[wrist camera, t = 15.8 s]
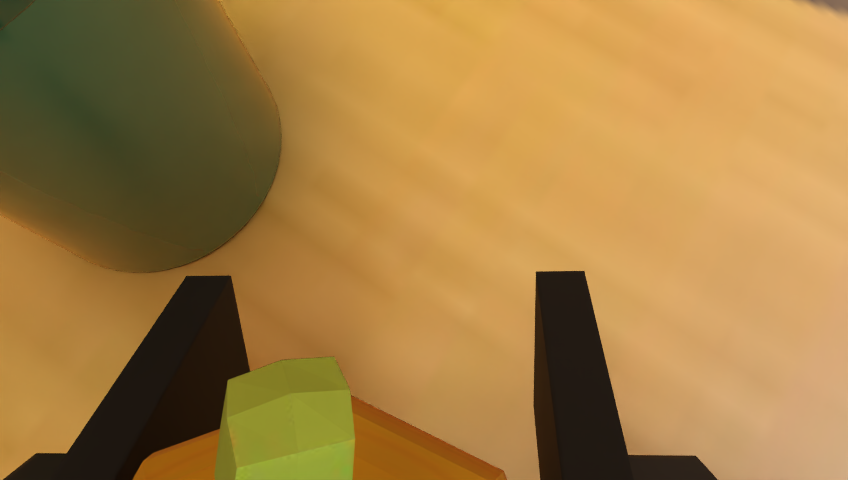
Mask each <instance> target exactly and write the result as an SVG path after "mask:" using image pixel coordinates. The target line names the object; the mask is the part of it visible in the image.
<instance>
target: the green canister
mask: <svg viewBox="0 0 848 480" xmlns="http://www.w3.org/2000/svg"><path fill="white" fill-rule="evenodd" d="M280 151H281V126H280V118H279V114H278V110H277V106H276V103H275V101H274V98H273V96H272V94H271V91H270V90H269V88H268V86H267V84H266V83H265V81H264V79H263V77H262V76H261V74H260V72H259V70H258V69H257V67H256V65H255V63H254V62H253V60H252V58H251V56H250V55H249V53H248V51H247V49H246V48H245V46H244V44H243V43H242V41H241V39H240V37H239V36H238V34H237V32H236V30H235V29H234V27H233V25H232V23H231V22H230V20H229V18H228V16H227V15H226V13H225V11H224V9H223V8H222V6H221V4H220V2H219V1H218V0H0V215H1V216H3V217H4V218H6V219H8V220H10V221H12V222H14V223H16V224H18V225H20V226H21V227H23V228H25V229H27V230H29V231H31V232H33V233H35V234H37V235H39V236H40V237H42V238H44V239H46V240H48V241H50V242H52V243H54V244H56V245H57V246H59V247H61V248H63V249H65V250H67V251H69V252H71V253H73V254H74V255H76V256H78V257H80V258H82V259H84V260H86V261H88V262H90V263H93V264H95V265H98V266H100V267H103V268H108V269H112V270H116V271H123V272H133V273H139V272H155V271H161V270H167V269H171V268H175V267H178V266H182V265H185V264H188V263H190V262H192V261H195V260H197V259H199V258H201V257H204V256H205V255H207V254H209V253H210V252H212V251H214V250H216V249H217V248H219V247H220V246H221V245H223V244H224V243H225V242H227V241H228V240H229V239H231V238H232V237H233V236H234V235H235V234H236V233H237V232H238V231H240V230H241V229H242V228H243V227H244V226H245V225H246V223H247V222H248V221H249V220H250V219H251V217H252V216H253V215H254V214H255V213H256V211H257V210H258V208H259V206H260V205H261V203H262V202H263V200H264V199H265V197H266V195H267V193H268V191H269V188H270V186H271V184H272V182H273V179H274V176H275V173H276V170H277V167H278V162H279V157H280Z"/></svg>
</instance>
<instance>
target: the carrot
mask: <svg viewBox="0 0 848 480" xmlns="http://www.w3.org/2000/svg"><path fill="white" fill-rule="evenodd" d="M133 480H507V478H506V476H505V473H504V471H503V470H501V469H499V468H497V467H494V466H492V465H490V464H488V463H486V462H484V461H482V460H480V459H478V458H476V457H474V456H472V455H470V454H468V453H466V452H464V451H462V450H460V449H458V448H456V447H454V446H452V445H450V444H448V443H446V442H444V441H442V440H440V439H438V438H436V437H434V436H432V435H430V434H428V433H426V432H424V431H422V430H420V429H418V428H416V427H414V426H412V425H410V424H408V423H406V422H404V421H402V420H400V419H398V418H396V417H394V416H392V415H390V414H388V413H386V412H383V411H381V410H379V409H377V408H375V407H373V406H371V405H369V404H367V403H365V402H363V401H361V400H359V399H357V398H355V397H353V396H351V394H350V388H349V386H348V384H347V382H346V380H345V378H344V376H343V374H342V372H341V370H340V368H339V366H338V364H337V362H336V360H335V358H334V357H320V358H305V359H289V360H280V361H278V362H275V363H272V364H270V365H267V366H264V367H262V368H259V369H256V370H253V371H251V372H248V373H245V374H243V375H240V376H237V377H235V378H232V379H229V380H228V382H227V388H226V394H225V400H224V406H223V412H222V418H221V425H220V429H218V430H215V431H212V432H210V433H207V434H204V435H201V436H198V437H196V438H193V439H190V440H187V441H185V442H182V443H179V444H176V445H174V446H171V447H168V448H165V449H163V450H160V451H157V452H154V453H153V454H151V455H150V456H149V457H147V458H146V459H145V460H144V461H143V462H142V464H141V465H140V467H139V469H138V471H137V473H136V474H135V476H134V478H133Z"/></svg>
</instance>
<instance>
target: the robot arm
mask: <svg viewBox="0 0 848 480" xmlns="http://www.w3.org/2000/svg"><path fill="white" fill-rule="evenodd" d="M248 372H250V369H249V364H248V359H247V354H246V349H245V344H244V339H243V334H242V329H241V324H240V319H239V314H238V309H237V304H236V299H235V294H234V288H233V283H232V278H231V276H186V277H185V279H184V280H183V282H182V283H181V285H180V286H179V288H178V289H177V291H176V292H175V294H174V295H173V297H172V298H171V300H170V301H169V303H168V304H167V306H166V307H165V309H164V310H163V312H162V313H161V314H160V316H159V317H158V319H157V320H156V322H155V323H154V325H153V326H152V328H151V329H150V331H149V332H148V334H147V335H146V337H145V338H144V340H143V341H142V343H141V344H140V346H139V347H138V349H137V350H136V352H135V353H134V355H133V356H132V357H131V359H130V360H129V362H128V363H127V365H126V366H125V368H124V369H123V371H122V372H121V374H120V375H119V377H118V378H117V380H116V381H115V383H114V384H113V386H112V387H111V389H110V390H109V392H108V393H107V395H106V396H105V397H104V399H103V400H102V402H101V403H100V405H99V406H98V408H97V409H96V411H95V412H94V414H93V415H92V417H91V418H90V420H89V421H88V423H87V424H86V426H85V427H84V429H83V430H82V432H81V433H80V435H79V436H78V438H77V439H76V440H75V442H74V443H73V445H72V446H71V448H70V449H69V451H68V452H67V454H60V453H36V454H35V455H34V456H32V457H31V458H30V459H28V460H27V461H26V462H25V463H23V464H22V465H21V466H20V467H18V468H17V469H16V470H15V471H13V472H12V473H11V474H9V475H8V476H7V477H6V478H4V479H3V480H133V478H134V476H135V474H136V473H137V471H138V469H139V467H140V465H141V464H142V462H143V461H144V460H145V459H146V458H147V457H149V456H150V455H151V454H153V453H154V452H157V451H160V450H163V449H165V448H168V447H171V446H174V445H176V444H179V443H182V442H185V441H187V440H190V439H193V438H196V437H198V436H201V435H204V434H207V433H210V432H212V431H215V430H218V429H220V425H221V418H222V412H223V406H224V400H225V394H226V388H227V382H228V380H229V379H232V378H235V377H237V376H240V375H243V374H245V373H248ZM534 415H535V426H536V437H537V447H538V458H539V469H540V480H717V478H716V477H715V476H714V475H713V474H712V473H711V472H710V471H709V470H708V469H707V468H706V466H705V465H704V464H703V463H702V462H701V461H700V460H699V459H698V458H697V457H696V456H658V455H628V453H627V449H626V445H625V441H624V436H623V432H622V428H621V424H620V420H619V415H618V411H617V407H616V403H615V399H614V394H613V390H612V386H611V382H610V378H609V373H608V369H607V365H606V361H605V357H604V352H603V348H602V344H601V340H600V336H599V331H598V327H597V323H596V319H595V315H594V310H593V306H592V302H591V298H590V293H589V289H588V285H587V281H586V277H585V272H584V271H549V272H536V300H535V357H534Z"/></svg>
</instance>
